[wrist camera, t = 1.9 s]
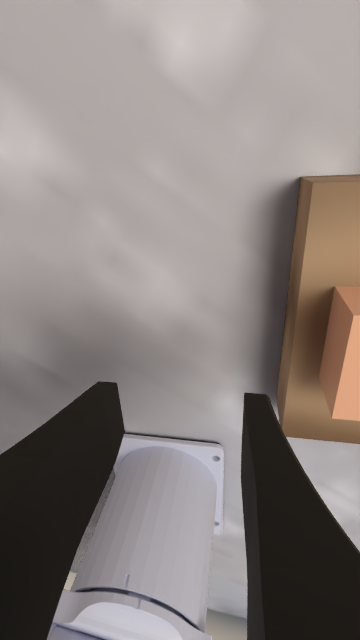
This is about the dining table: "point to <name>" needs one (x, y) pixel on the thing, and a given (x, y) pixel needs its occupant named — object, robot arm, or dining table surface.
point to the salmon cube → (342, 355)
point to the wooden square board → (317, 302)
